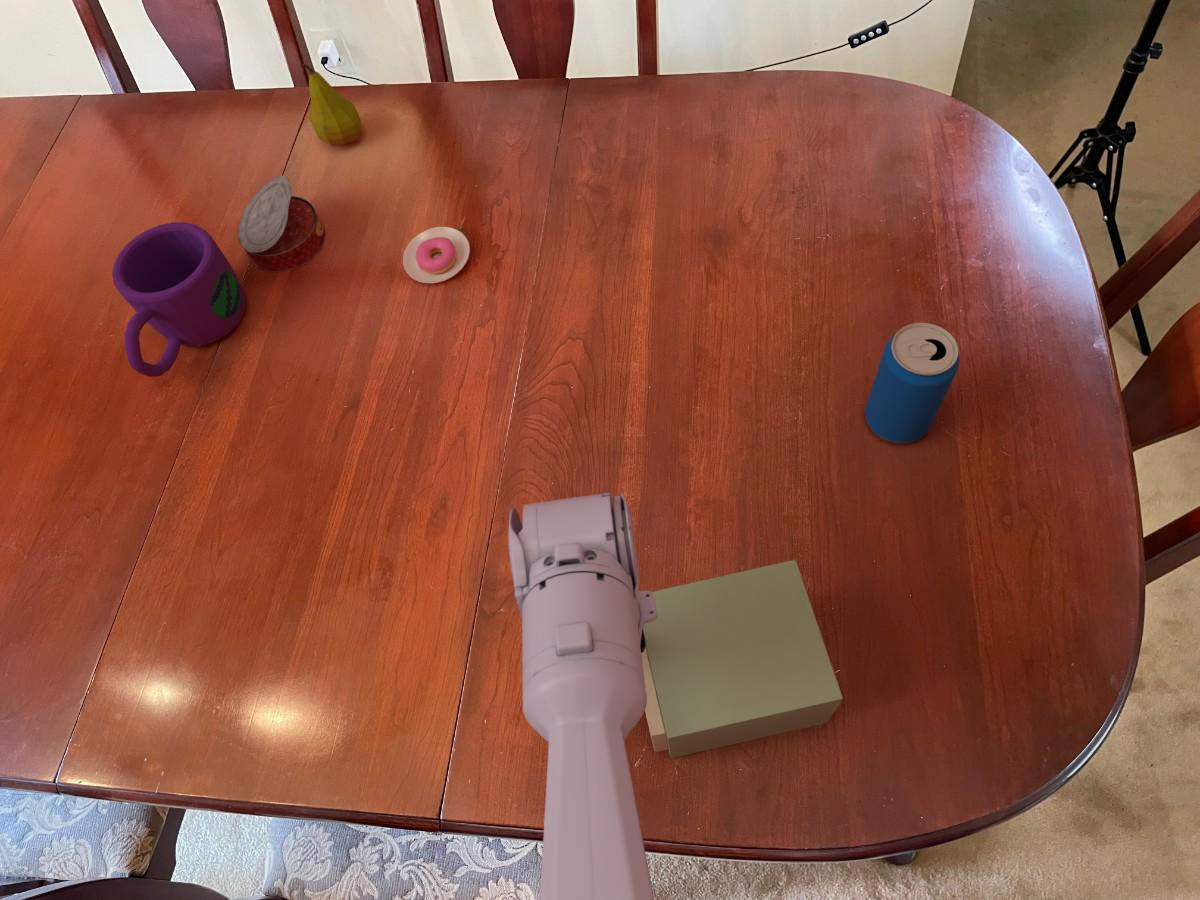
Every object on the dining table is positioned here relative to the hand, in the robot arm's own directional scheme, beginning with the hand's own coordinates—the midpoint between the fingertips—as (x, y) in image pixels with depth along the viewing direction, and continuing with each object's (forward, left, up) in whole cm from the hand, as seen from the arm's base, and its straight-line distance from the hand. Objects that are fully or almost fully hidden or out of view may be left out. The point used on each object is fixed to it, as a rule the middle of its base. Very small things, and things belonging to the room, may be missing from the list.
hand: (608, 646), depth 66 cm
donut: (+55, +10, -11) cm, 57 cm away
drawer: (-1, -6, -10) cm, 11 cm away
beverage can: (+19, -33, -11) cm, 39 cm away
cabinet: (-2, -10, -10) cm, 14 cm away
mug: (+50, +40, -11) cm, 65 cm away
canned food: (+62, +29, -11) cm, 70 cm away
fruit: (+79, +21, -11) cm, 83 cm away
